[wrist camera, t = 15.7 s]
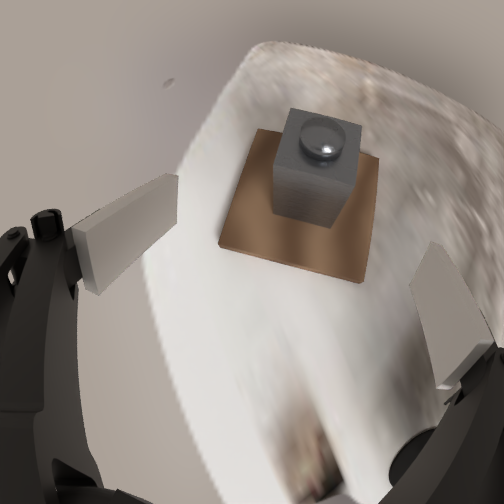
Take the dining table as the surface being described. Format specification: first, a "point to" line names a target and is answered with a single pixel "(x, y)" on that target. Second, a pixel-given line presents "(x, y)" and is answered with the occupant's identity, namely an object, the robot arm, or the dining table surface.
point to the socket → (315, 167)
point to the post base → (297, 232)
